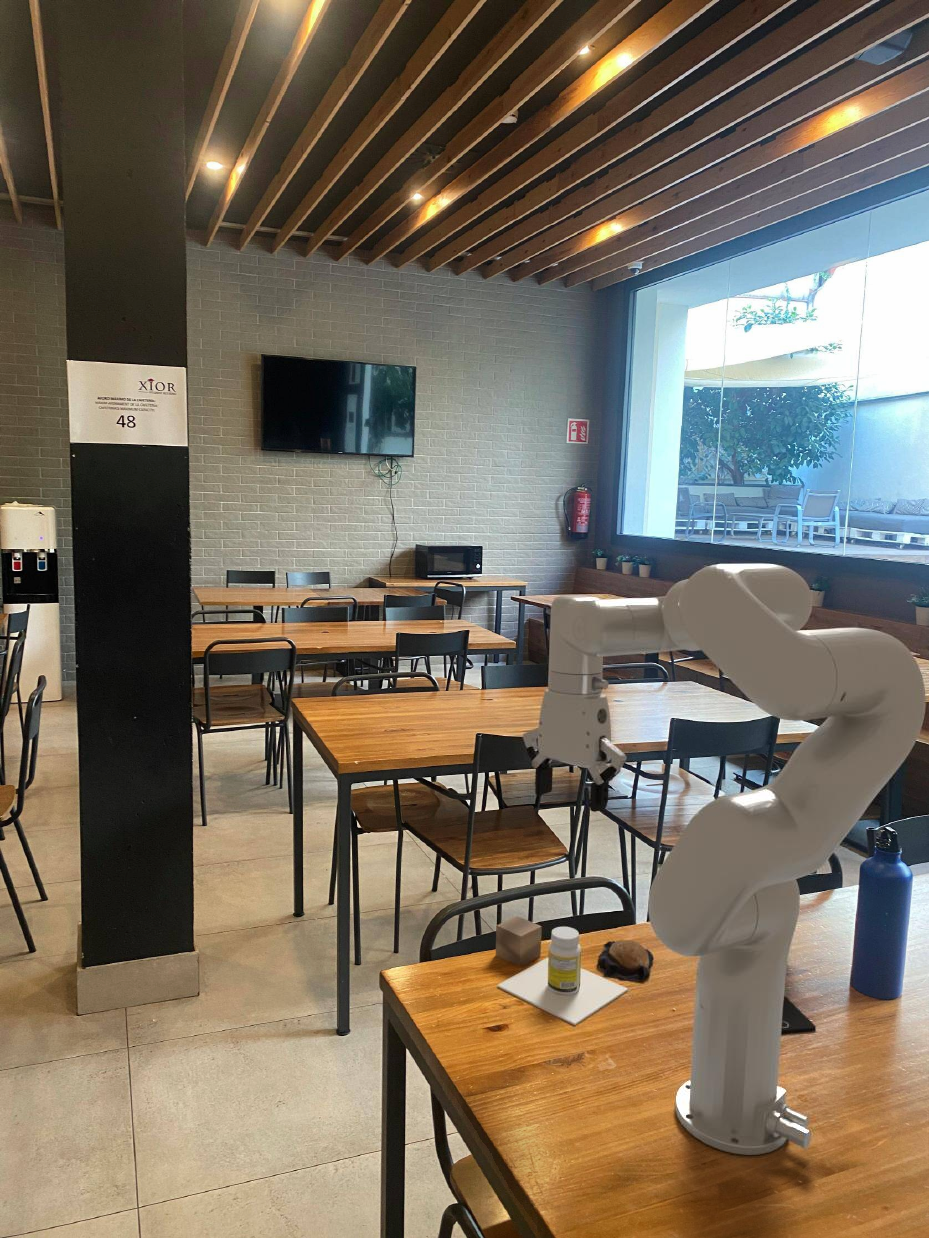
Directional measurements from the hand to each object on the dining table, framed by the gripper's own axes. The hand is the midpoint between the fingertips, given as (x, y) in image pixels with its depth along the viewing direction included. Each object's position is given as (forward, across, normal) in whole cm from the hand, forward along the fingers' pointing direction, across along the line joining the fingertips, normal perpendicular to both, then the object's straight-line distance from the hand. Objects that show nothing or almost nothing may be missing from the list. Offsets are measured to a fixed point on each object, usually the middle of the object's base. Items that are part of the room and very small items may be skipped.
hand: (570, 801), depth 127 cm
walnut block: (+28, +11, -3) cm, 31 cm away
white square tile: (+28, 0, 0) cm, 28 cm away
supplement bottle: (+28, 0, 0) cm, 28 cm away
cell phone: (+29, -21, -18) cm, 40 cm away
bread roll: (+29, -2, -13) cm, 32 cm away
